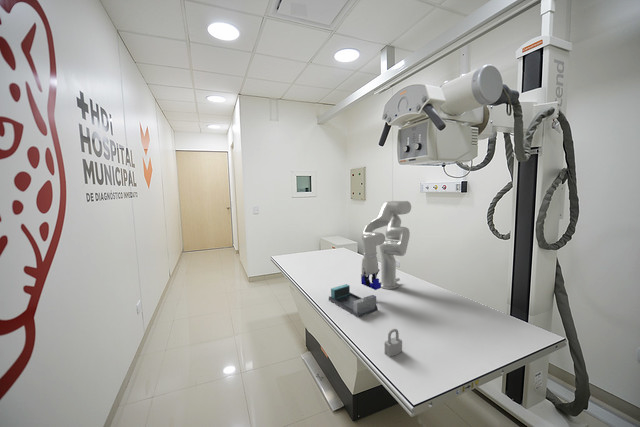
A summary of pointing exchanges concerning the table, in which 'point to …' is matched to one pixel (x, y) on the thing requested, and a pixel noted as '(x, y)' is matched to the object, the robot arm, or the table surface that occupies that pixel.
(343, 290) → the block
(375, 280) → the blue curved block
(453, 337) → the table surface
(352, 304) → the vise base
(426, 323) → the table surface
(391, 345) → the padlock
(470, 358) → the table surface
